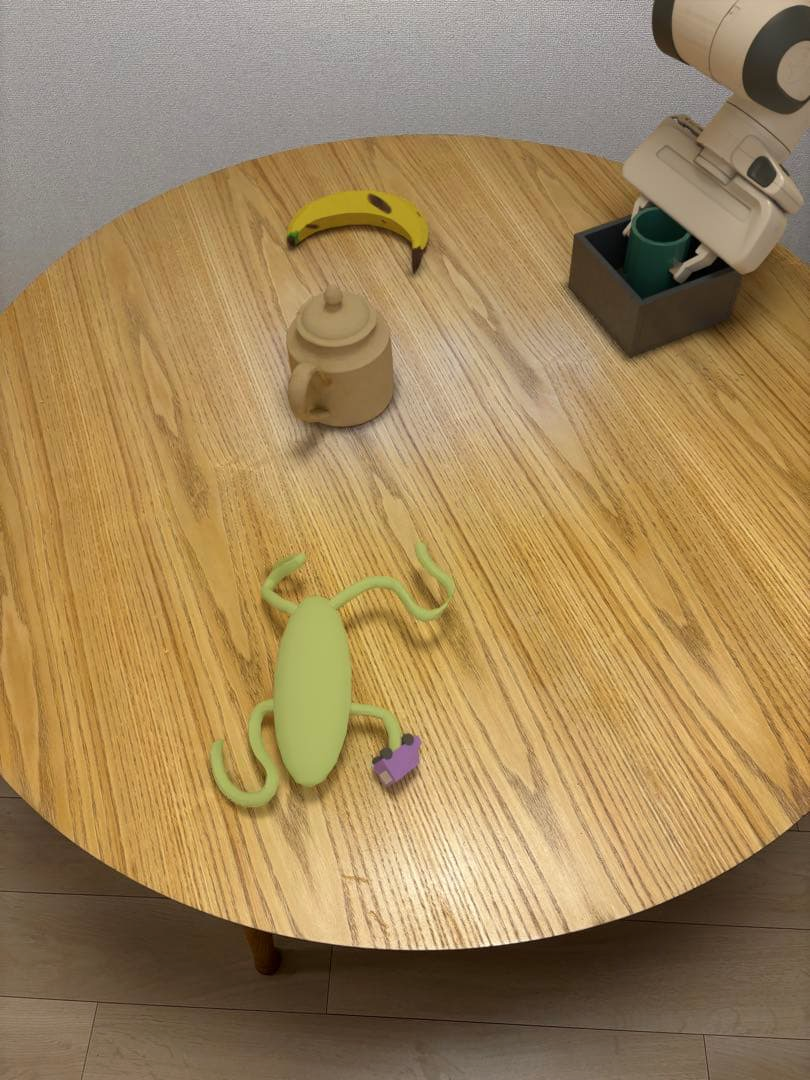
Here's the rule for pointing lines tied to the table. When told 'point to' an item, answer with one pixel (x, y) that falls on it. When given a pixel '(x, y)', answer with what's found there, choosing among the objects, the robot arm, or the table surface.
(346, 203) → the banana
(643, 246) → the cup
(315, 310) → the sugar bowl
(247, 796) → the figurine
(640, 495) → the table surface
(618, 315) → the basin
